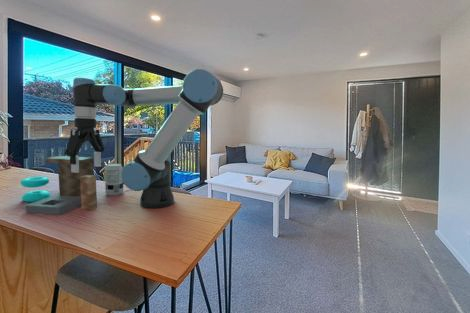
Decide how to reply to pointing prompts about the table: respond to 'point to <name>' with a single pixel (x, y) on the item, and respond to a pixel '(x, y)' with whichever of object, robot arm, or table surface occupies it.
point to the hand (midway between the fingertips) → (87, 169)
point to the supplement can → (113, 179)
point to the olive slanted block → (71, 174)
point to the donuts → (35, 195)
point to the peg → (88, 192)
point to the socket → (54, 205)
